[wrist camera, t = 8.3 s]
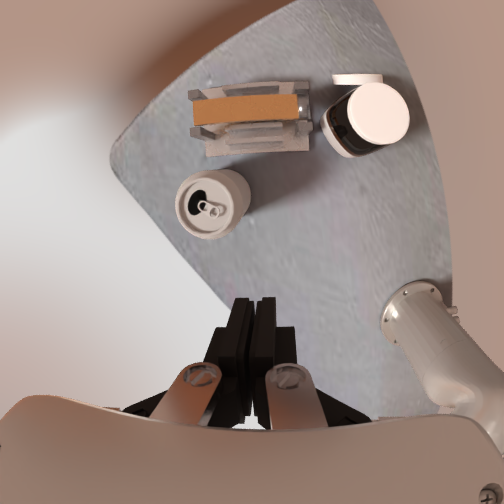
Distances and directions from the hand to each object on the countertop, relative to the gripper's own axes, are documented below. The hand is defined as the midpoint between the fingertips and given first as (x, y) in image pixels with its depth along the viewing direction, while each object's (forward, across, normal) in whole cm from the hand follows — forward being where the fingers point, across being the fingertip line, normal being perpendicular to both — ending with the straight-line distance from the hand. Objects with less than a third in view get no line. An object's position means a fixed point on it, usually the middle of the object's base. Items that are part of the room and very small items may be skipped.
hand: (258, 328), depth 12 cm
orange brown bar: (+23, +1, -13) cm, 27 cm away
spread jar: (+29, -12, -14) cm, 35 cm away
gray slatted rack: (+29, +2, -14) cm, 32 cm away
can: (+29, +6, -3) cm, 30 cm away
